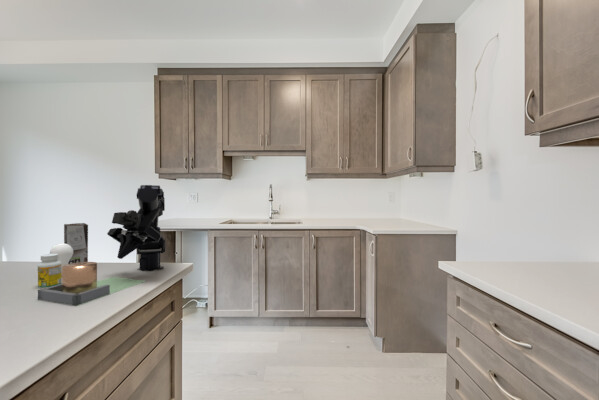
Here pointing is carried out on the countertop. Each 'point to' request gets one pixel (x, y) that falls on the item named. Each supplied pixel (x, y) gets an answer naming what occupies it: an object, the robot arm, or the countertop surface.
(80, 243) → the coffee box
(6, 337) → the countertop surface
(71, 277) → the copper metal cylinder
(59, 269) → the supplement bottle
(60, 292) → the shallow gray tray
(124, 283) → the green
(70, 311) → the countertop surface
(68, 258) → the lightbulb
